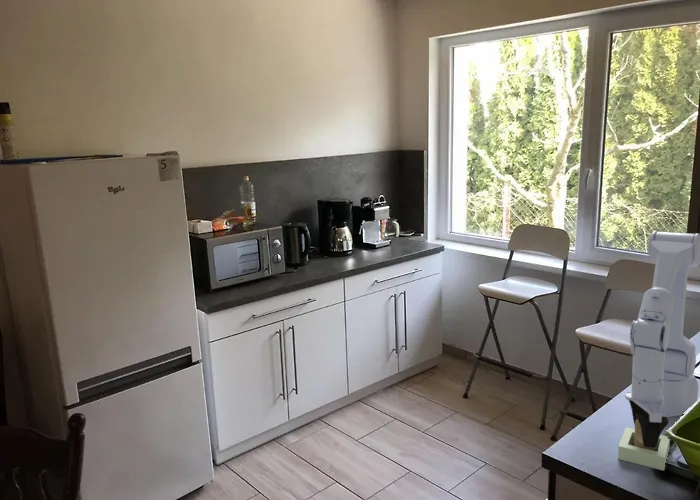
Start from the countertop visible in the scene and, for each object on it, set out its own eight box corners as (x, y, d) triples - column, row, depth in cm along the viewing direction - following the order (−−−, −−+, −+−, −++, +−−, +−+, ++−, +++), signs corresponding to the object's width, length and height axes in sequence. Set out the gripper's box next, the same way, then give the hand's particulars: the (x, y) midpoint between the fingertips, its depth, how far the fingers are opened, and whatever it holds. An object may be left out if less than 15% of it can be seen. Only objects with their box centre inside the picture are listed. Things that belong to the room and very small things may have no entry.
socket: (625, 439, 126) (626, 427, 125) (669, 449, 121) (670, 437, 120) (618, 458, 119) (618, 446, 118) (664, 470, 114) (664, 457, 113)
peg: (659, 456, 118) (661, 426, 117) (642, 460, 117) (644, 429, 116) (645, 446, 122) (647, 416, 121) (629, 449, 121) (630, 419, 120)
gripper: (619, 360, 124) (616, 417, 127) (634, 391, 110) (631, 454, 113) (654, 362, 122) (651, 419, 125) (675, 393, 108) (671, 457, 111)
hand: (644, 436), depth 119 cm, fingers open, 7 cm apart
